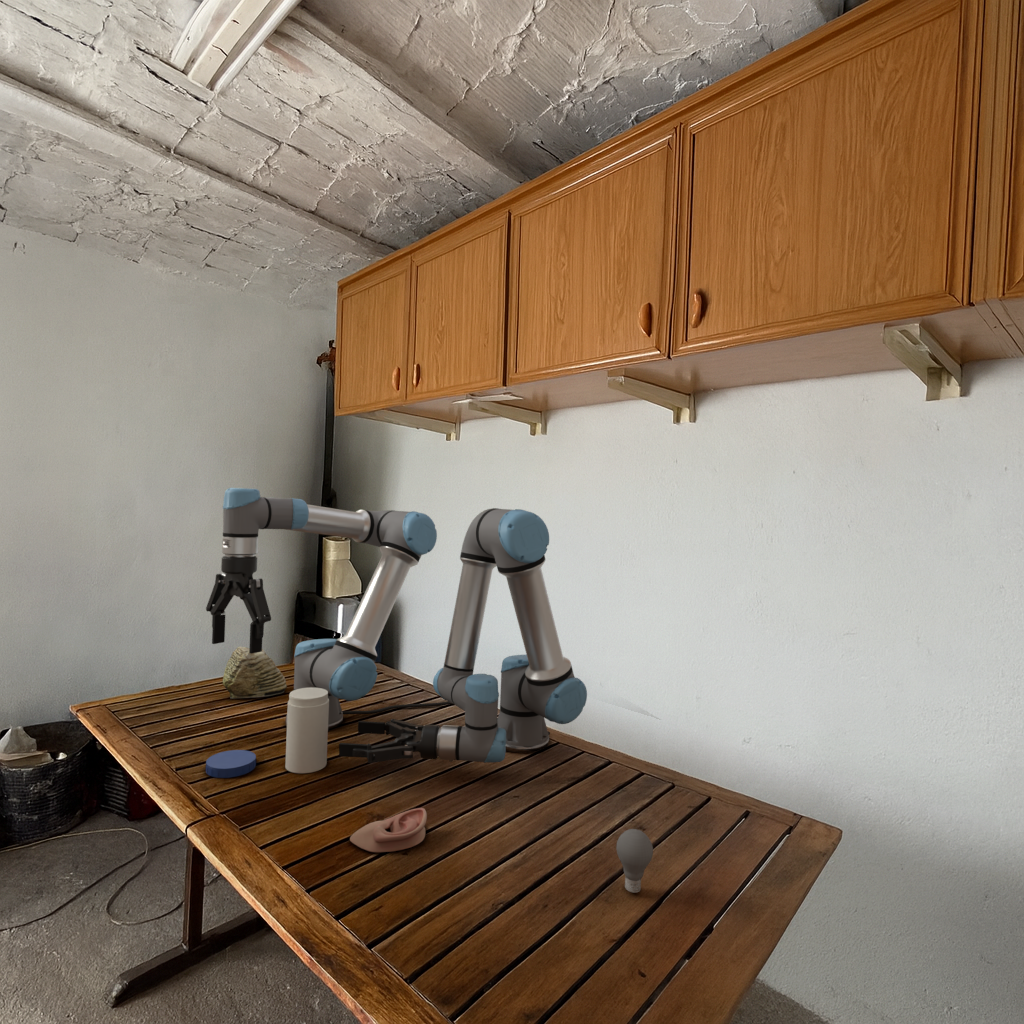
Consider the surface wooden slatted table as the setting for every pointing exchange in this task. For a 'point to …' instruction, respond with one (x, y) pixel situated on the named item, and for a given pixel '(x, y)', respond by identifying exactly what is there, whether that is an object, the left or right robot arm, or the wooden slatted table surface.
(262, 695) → the fossil
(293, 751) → the jar
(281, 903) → the wooden slatted table surface
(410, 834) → the anatomical model
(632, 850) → the light bulb
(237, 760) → the lid
